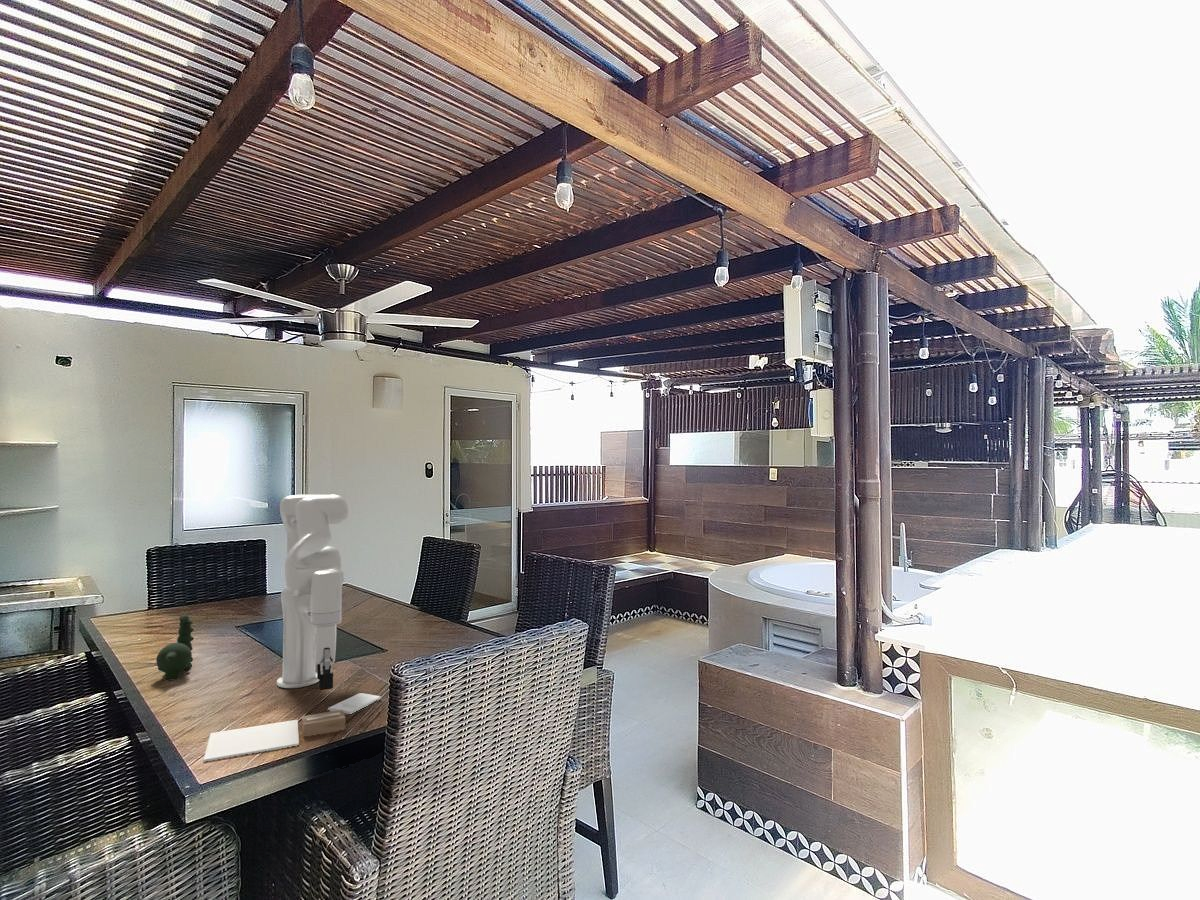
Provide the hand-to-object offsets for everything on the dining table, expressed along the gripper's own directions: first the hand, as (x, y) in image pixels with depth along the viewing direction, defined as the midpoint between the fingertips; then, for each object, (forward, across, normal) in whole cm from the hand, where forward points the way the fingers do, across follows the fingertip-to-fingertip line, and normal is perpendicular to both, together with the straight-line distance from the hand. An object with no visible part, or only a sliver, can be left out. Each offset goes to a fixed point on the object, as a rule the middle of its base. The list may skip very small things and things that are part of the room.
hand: (324, 683), depth 164 cm
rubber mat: (+12, -1, -16) cm, 20 cm away
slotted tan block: (+12, -1, 0) cm, 12 cm away
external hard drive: (+12, -15, +9) cm, 21 cm away
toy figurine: (+10, -69, -41) cm, 81 cm away
